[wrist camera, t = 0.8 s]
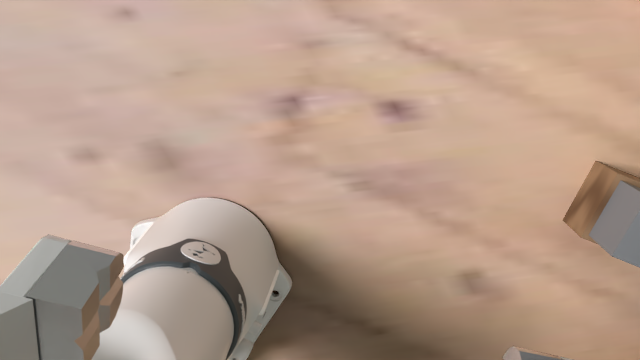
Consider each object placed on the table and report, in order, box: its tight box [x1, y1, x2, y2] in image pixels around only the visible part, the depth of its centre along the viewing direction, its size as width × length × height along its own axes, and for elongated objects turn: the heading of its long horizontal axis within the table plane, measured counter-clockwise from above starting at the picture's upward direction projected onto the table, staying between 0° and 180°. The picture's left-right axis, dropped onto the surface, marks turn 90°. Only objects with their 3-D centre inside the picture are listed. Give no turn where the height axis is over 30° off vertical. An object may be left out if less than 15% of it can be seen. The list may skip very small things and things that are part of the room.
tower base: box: [563, 161, 640, 244], centre depth 54 cm, size 7×7×5 cm
